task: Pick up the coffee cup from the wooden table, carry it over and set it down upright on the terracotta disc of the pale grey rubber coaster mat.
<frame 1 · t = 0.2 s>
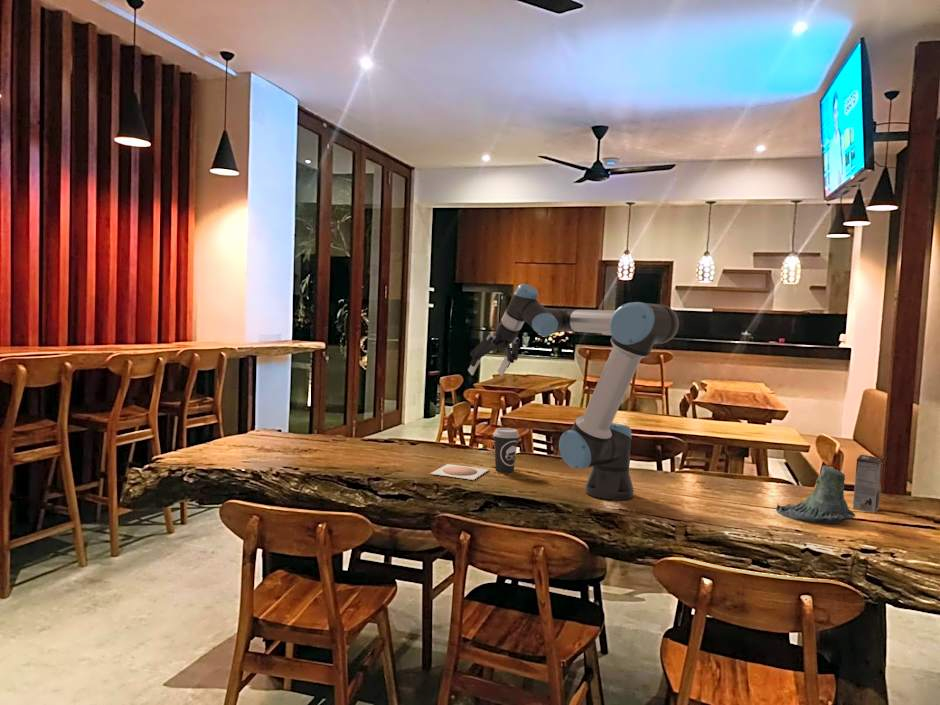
hand: (485, 373, 230), 35 cm above the table, tool tilted 35°, fingers open, 13 cm apart
coaster mat: (459, 473, 223), on the table
tree stump: (814, 517, 190), on the table
coffee box: (865, 508, 202), on the table
coffee cup: (504, 471, 229), on the table
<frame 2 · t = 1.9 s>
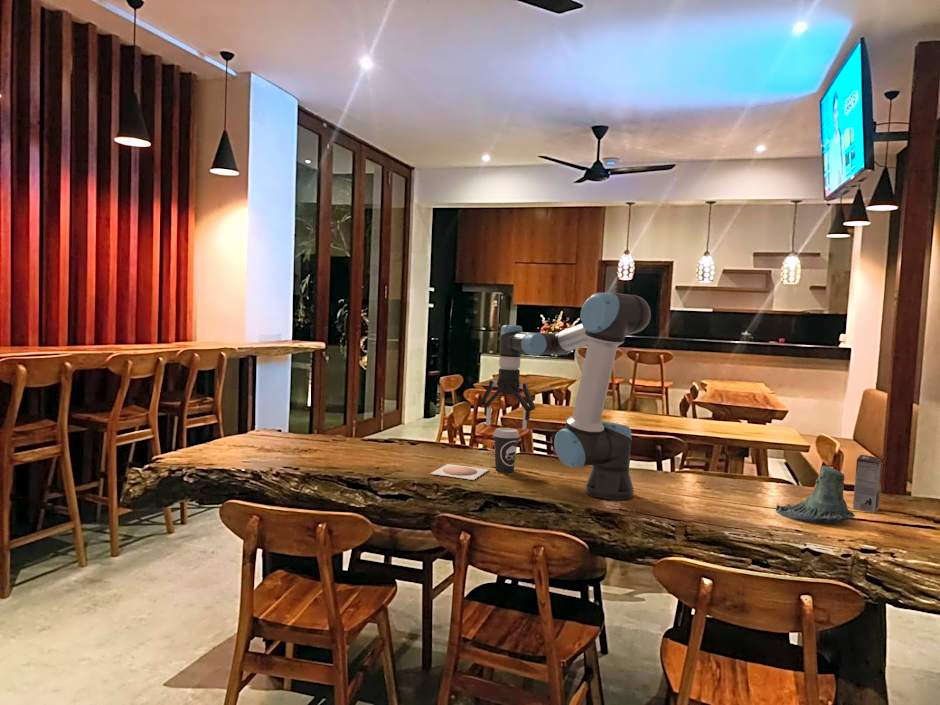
hand: (506, 427, 229), 16 cm above the table, tool pointing down, fingers open, 13 cm apart
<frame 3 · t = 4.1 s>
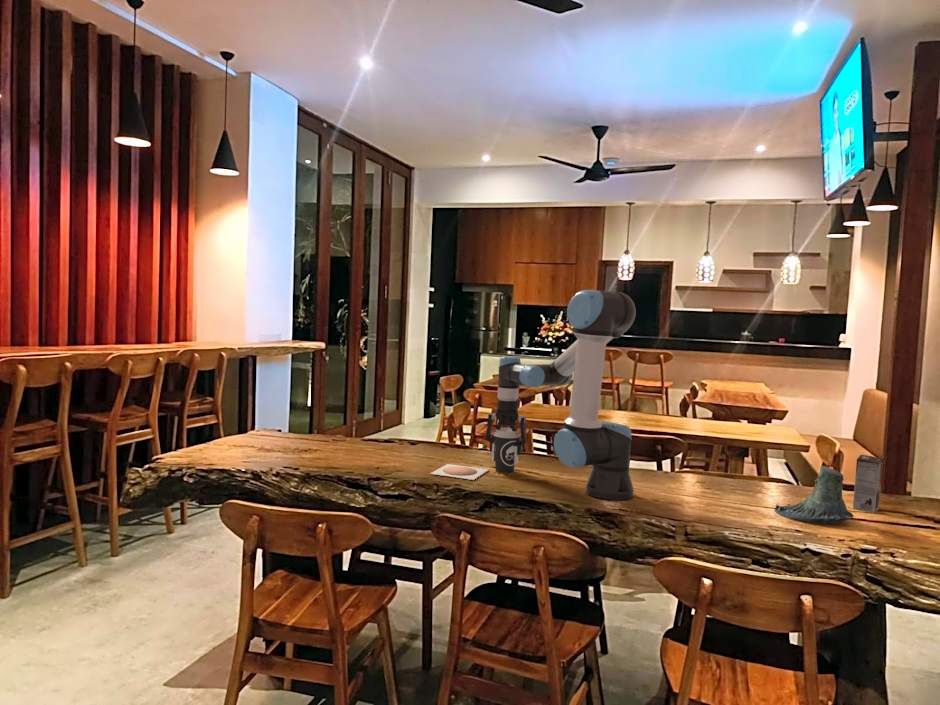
hand: (504, 462, 229), 3 cm above the table, tool pointing down, fingers closed on coffee cup, 8 cm apart
coffee cup: (504, 471, 229), on the table, touching gripper
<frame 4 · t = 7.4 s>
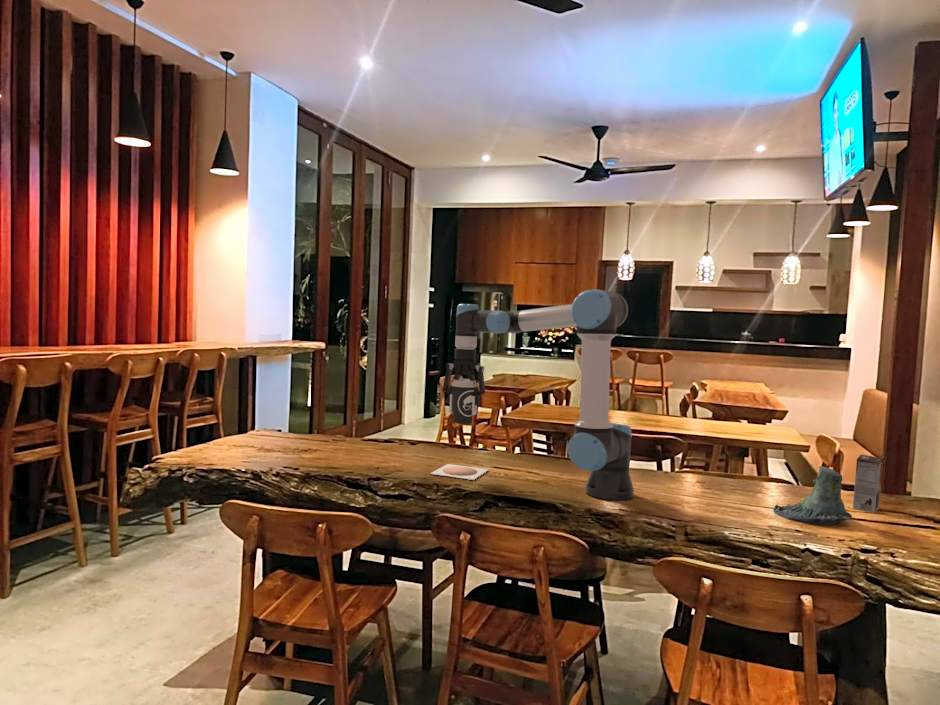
hand: (462, 413, 222), 21 cm above the table, tool pointing down, fingers closed on coffee cup, 8 cm apart
coffee cup: (462, 422, 223), point 18 cm above the table, touching gripper
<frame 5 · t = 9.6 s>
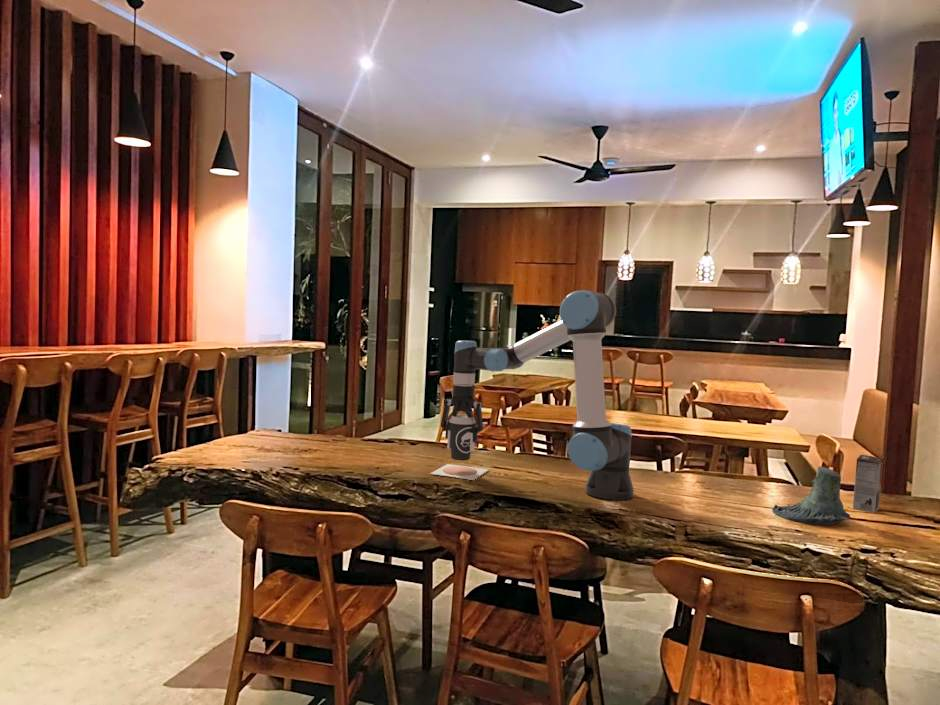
hand: (460, 449, 223), 8 cm above the table, tool pointing down, fingers closed on coffee cup, 8 cm apart
coffee cup: (460, 458, 223), point 5 cm above the table, touching gripper
when the fingers open (5 cm above the table, at t = 11.2 s): coffee cup moves 1 cm, resting on coaster mat.
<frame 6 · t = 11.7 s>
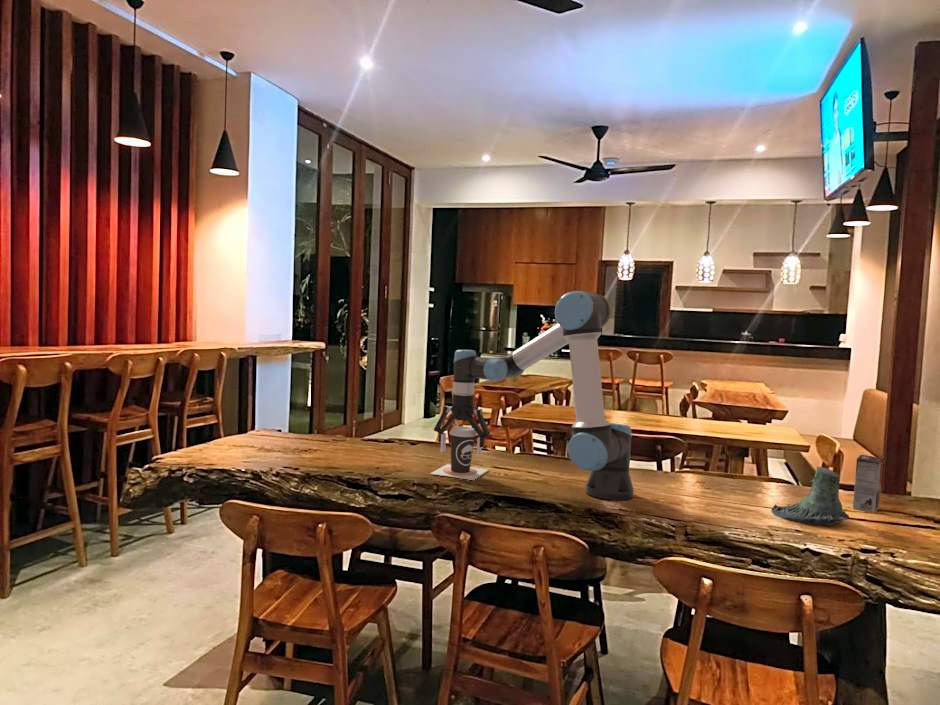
hand: (460, 454, 223), 7 cm above the table, tool pointing down, fingers open, 13 cm apart
coffee cup: (460, 471, 223), point 1 cm above the table, touching coaster mat
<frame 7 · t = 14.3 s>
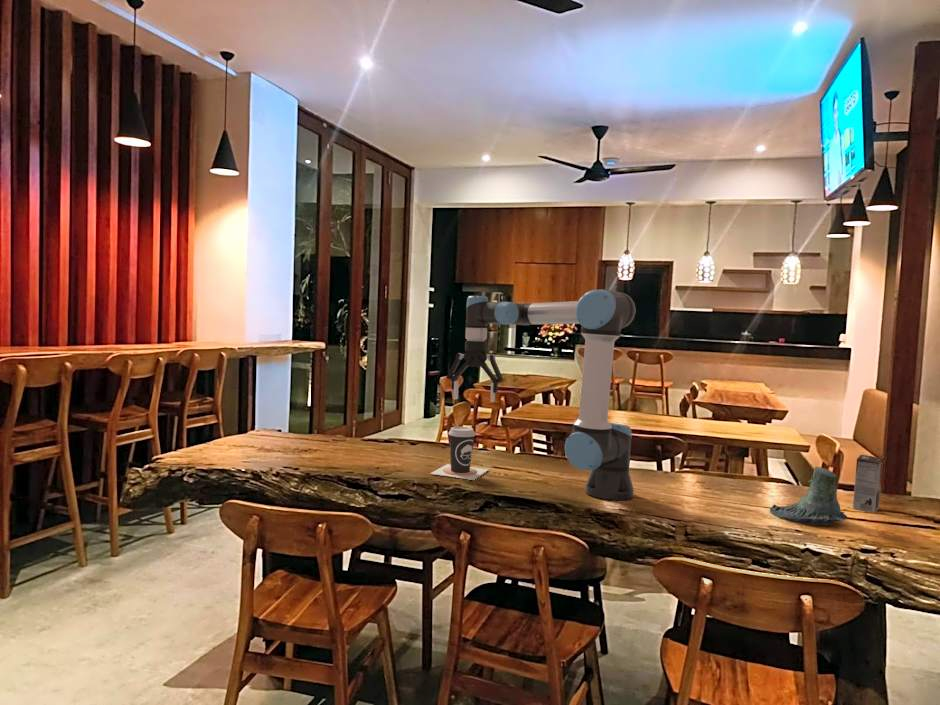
hand: (473, 400, 224), 26 cm above the table, tool pointing down, fingers open, 13 cm apart
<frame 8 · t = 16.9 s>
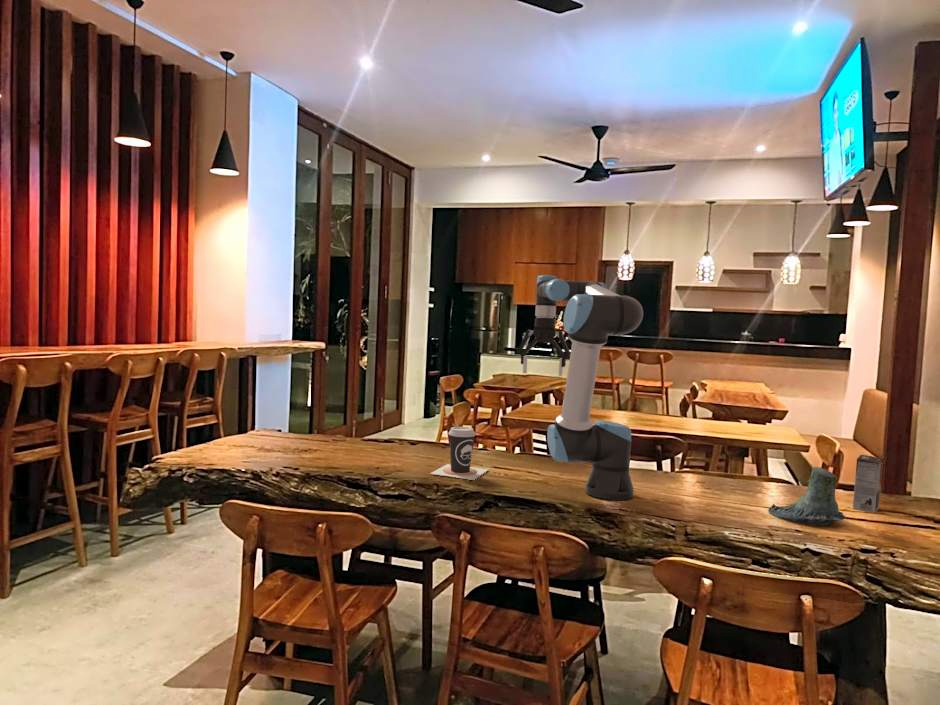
hand: (542, 374, 236), 35 cm above the table, tool pointing down, fingers open, 13 cm apart
at the end: coffee cup 0.1 cm off-centre on the coaster mat, point 0.6 cm above the coaster mat's base; coffee cup tilted 0°; the gripper is holding nothing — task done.
